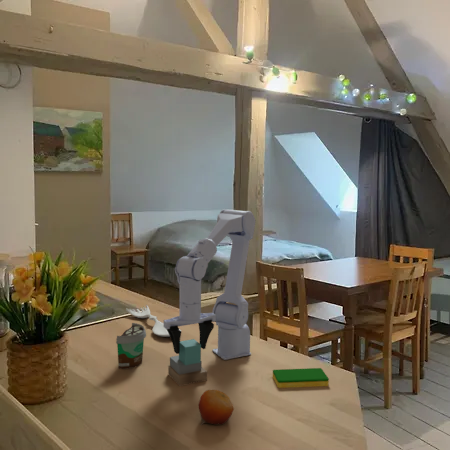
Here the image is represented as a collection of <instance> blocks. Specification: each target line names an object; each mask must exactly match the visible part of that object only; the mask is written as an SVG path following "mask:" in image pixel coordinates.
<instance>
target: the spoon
mask: <svg viewBox="0 0 450 450" xmlns="http://www.w3.org/2000/svg"><path fill="white" fill-rule="evenodd" d="M149 307H150V306H148V305H147V304H145V306H143V308H142V307H140V309H139V308H136V309H134V308H132V309H131V308H127V307H126V308H125V311H126V312H127V313H129V314H130V315H132V316H134V317H135V318H139V319H145V318H146V319H147V318H148V319H149V320H150V321H154V325H153V327H152V333H153V334H154V335H156V336H158V337H166V338H169V337H170V335H169V333H168V331H167V329H166V328H164V322H161V321H160V320H158V316H156V315H152V314H151V310H150V308H149ZM179 330H180V331H181V332H182V330H181V329H180V328H179ZM170 338H171V337H170Z"/></svg>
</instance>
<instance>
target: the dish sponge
mask: <svg viewBox="0 0 450 450" xmlns="http://www.w3.org/2000/svg"><path fill="white" fill-rule="evenodd" d="M272 378H273V379H272V380H273V381H274V383H275V385H276V387H277V388H278V389H279V388H280V389H282V388H283V389H284V388H285V389H286V388H288V389H289V388H308V387H309V388H310V387H311V388H312V387H328V386H329V383H330V378H329V377H328V375H327V374H326V372H325V371H324V370H323V369H322V368H321V367H316V368H315V367H313V368H312V367H310V368H289V369H288V368H287V369H286V368H284V369H273V370H272Z"/></svg>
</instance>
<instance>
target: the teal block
mask: <svg viewBox="0 0 450 450" xmlns="http://www.w3.org/2000/svg"><path fill="white" fill-rule="evenodd" d="M178 355H179V360H180V361H181V362H182V363H183V364H185V365H190V364H195V363H200V362H201V361H202V356H201V355H202V348H201V344H200V342H198V341H197V340H196V339H195V338H192V339H186V340H180V353H179V354H178Z"/></svg>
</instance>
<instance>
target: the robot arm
mask: <svg viewBox="0 0 450 450" xmlns="http://www.w3.org/2000/svg"><path fill="white" fill-rule="evenodd" d="M216 218H217V219H216V224H215V225H214V227H213V228H212V230H211V231H210V233H209V234H208V236H207V237H206V238H205V237H204V238H200V239H199V240H198V242H197V243H196V244H195V246H193V248H192V249H191V250H190V252H188V254H187V255H184V256H182V257H180V258H179V259H177V261H176V264H175V267H174V272H175V275H176V278H177V283H178V285H179V316H173V317H170V318H168V319H164V320H163V323H164V328H166V329H167V331H168V333H169V335H170V339H171V342H172V347H173V352H174V353H175V354H176V355H179V353H180V341H181V336H182V330H181V329H180V328H179V327H182V326H183V327H184V326H188V325H195V324H198V329H199V343H200V344H201V350H206V347H207V343H208V340H209V337H210V335H211V333H212V331H213V329H214V328H215V325H216V326H217V348H213V349H212V350H211V351H212V352H213V353H215V354H216V355H217V356H218V357H220V359H222V360H225V361H227V360H231V359H236V358H242V357H246V356H250V355H252V352H251V330H250V327H249V326H248V324H247V322H248V320H249V302H248V301H247V300H246V299H245V297H244V296H243V295H242V292H243V286H244V285H243V284H244V279H245V272H246V267H247V258H248V254H249V248H250V247H249V246H250V242H251V240H253V239H254V234H255V226H256V218H255V215H254V214H253V212H252V211H251V210H236V209H228V208H223V209H221V210H220V212H219V213H218V214H217V217H216ZM226 237H229V238H230V240H231V249H230V256H229V261H228V267H227V274H226V280H225V286H224V292H223V293H221V294H219V296H217V297H216V300H215V303H214V306H213V308H212V311H211V312H205V313H202V279H203V278H204V277H205V275H206V271H207V269H208V267H209V263H210V262H211V261H212V259H213V258H214V256H215V255H216V254H217V252H218V248H217V247H218V245H219V244H220V243H222V241H223V240H224V239H225V238H226ZM214 322H215V324H214ZM179 329H180V330H181V331H180V330H179Z"/></svg>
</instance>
